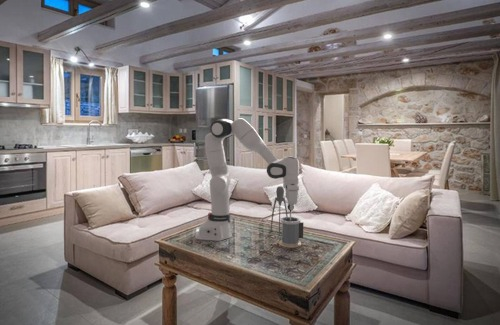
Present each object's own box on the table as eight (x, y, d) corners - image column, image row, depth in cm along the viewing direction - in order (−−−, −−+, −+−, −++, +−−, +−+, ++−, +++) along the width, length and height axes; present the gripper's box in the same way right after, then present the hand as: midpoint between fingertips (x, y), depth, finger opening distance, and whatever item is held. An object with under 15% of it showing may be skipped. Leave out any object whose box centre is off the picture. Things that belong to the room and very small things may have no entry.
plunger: (285, 237, 182) (286, 205, 180) (284, 234, 188) (284, 202, 186) (296, 237, 182) (296, 205, 180) (294, 234, 188) (295, 202, 186)
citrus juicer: (288, 231, 209) (289, 185, 206) (288, 236, 199) (289, 188, 196) (270, 230, 210) (271, 185, 207) (270, 235, 200) (270, 187, 197)
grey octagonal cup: (280, 247, 179) (280, 222, 178) (277, 240, 192) (277, 216, 191) (304, 247, 179) (305, 222, 178) (300, 240, 192) (301, 216, 191)
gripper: (283, 181, 193) (282, 204, 194) (287, 187, 172) (287, 213, 174) (293, 181, 193) (293, 204, 194) (299, 187, 172) (299, 213, 174)
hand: (290, 208), depth 184 cm, fingers closed on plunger, 4 cm apart
